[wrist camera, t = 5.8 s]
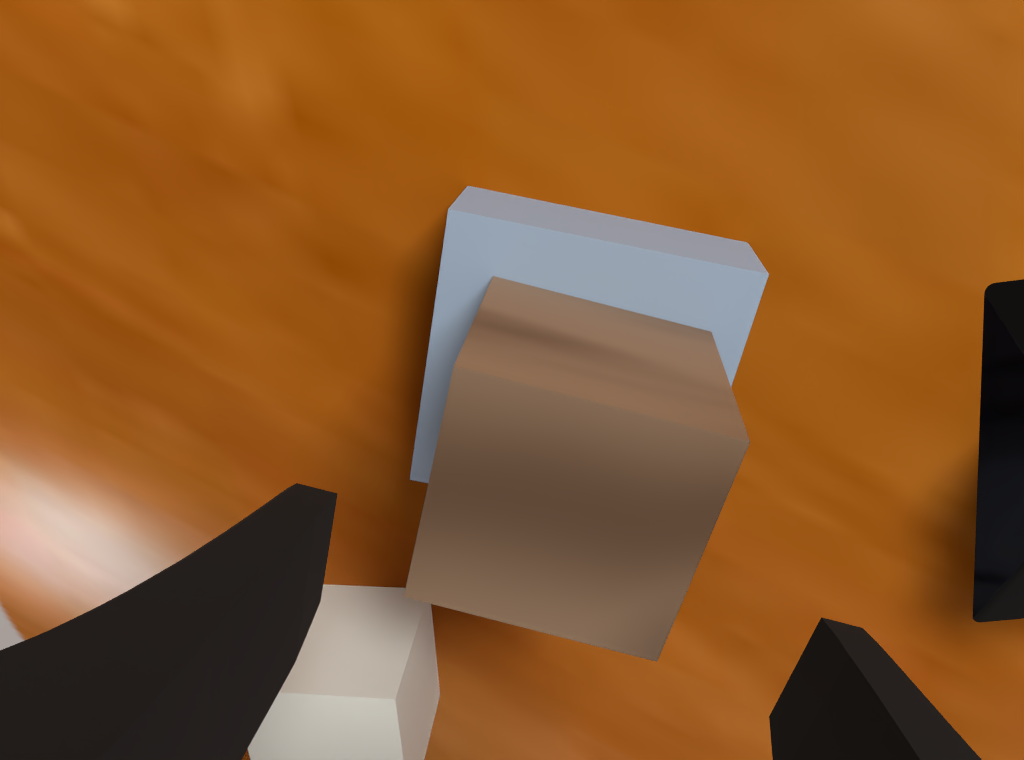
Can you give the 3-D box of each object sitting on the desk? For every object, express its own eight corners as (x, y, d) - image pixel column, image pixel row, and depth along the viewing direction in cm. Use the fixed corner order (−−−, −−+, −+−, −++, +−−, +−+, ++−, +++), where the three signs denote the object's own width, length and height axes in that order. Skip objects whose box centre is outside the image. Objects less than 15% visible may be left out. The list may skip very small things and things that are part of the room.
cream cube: (440, 692, 26) (410, 814, 22) (313, 685, 27) (261, 803, 23) (430, 587, 24) (395, 699, 20) (293, 581, 25) (233, 690, 21)
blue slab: (670, 474, 22) (681, 536, 20) (433, 424, 22) (409, 479, 20) (745, 238, 19) (768, 274, 17) (469, 183, 19) (448, 209, 17)
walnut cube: (644, 512, 19) (657, 661, 15) (450, 462, 19) (403, 596, 15) (711, 331, 17) (750, 441, 13) (493, 275, 17) (453, 366, 13)
